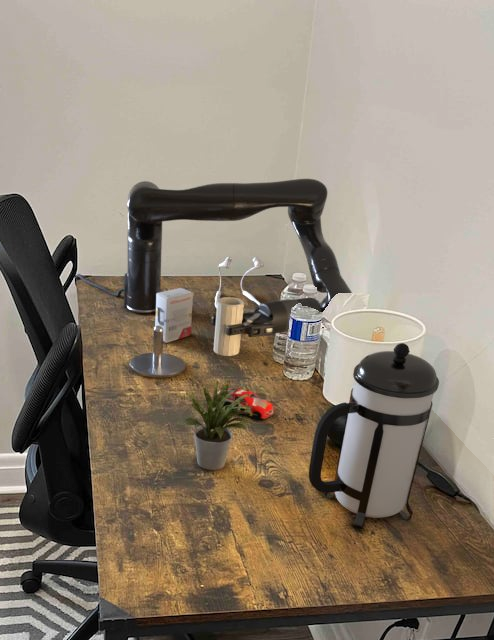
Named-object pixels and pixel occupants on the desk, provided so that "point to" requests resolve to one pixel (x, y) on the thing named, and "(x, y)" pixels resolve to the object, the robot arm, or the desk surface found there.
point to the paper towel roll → (225, 316)
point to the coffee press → (378, 434)
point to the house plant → (215, 427)
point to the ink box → (174, 313)
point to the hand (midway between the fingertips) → (219, 325)
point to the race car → (249, 403)
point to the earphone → (227, 265)
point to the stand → (157, 360)
